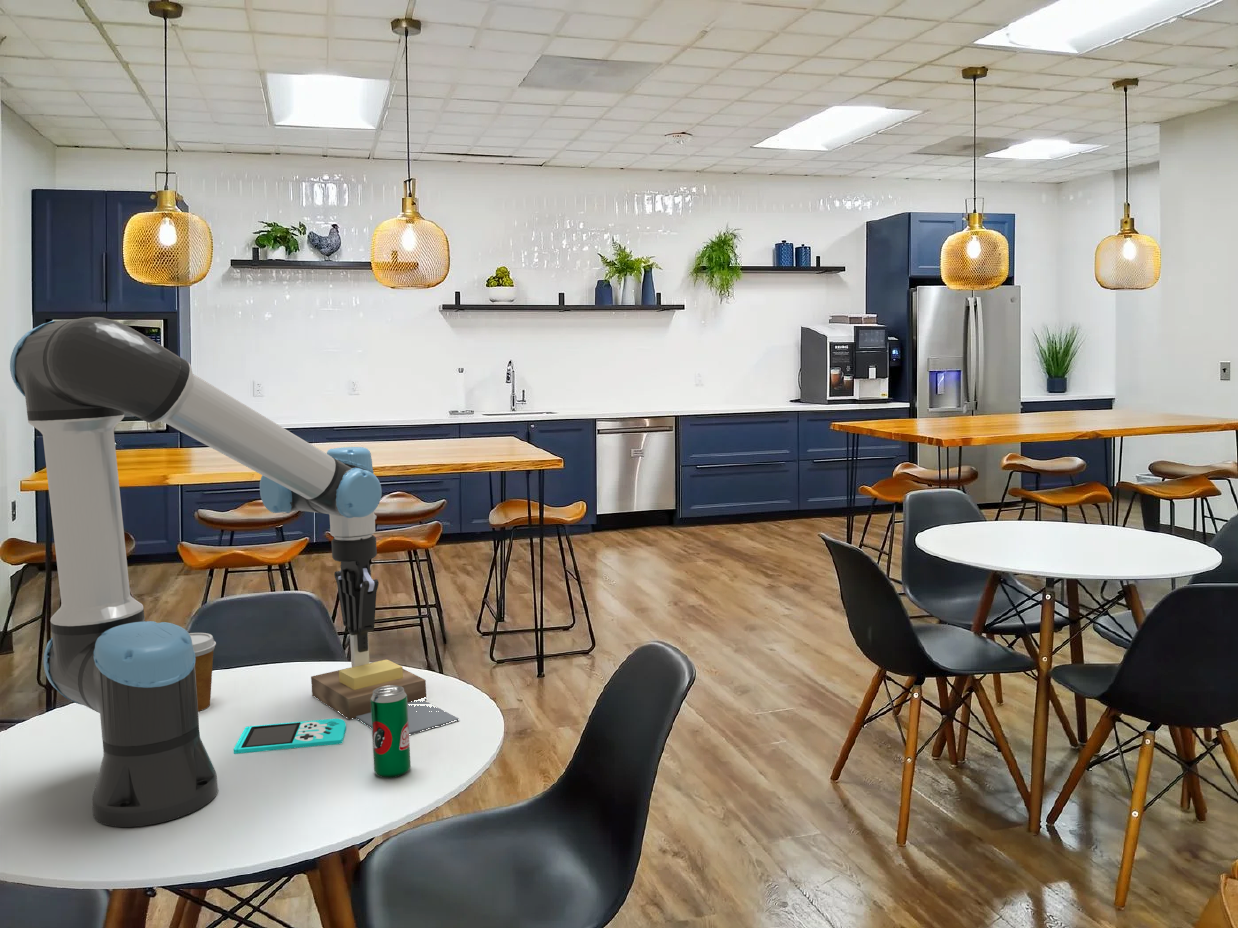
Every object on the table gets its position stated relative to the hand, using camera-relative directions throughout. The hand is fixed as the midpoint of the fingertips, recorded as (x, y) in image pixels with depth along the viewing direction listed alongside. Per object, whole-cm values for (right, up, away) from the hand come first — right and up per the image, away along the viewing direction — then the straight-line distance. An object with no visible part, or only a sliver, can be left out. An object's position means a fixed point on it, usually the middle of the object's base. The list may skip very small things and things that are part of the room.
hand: (360, 668), depth 170 cm
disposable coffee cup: (-28, -6, -4) cm, 29 cm away
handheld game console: (-6, -8, -18) cm, 21 cm away
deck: (+2, -5, -1) cm, 5 cm away
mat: (+11, -6, -13) cm, 18 cm away
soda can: (+13, -8, -33) cm, 36 cm away
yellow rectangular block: (+3, -1, -3) cm, 4 cm away
